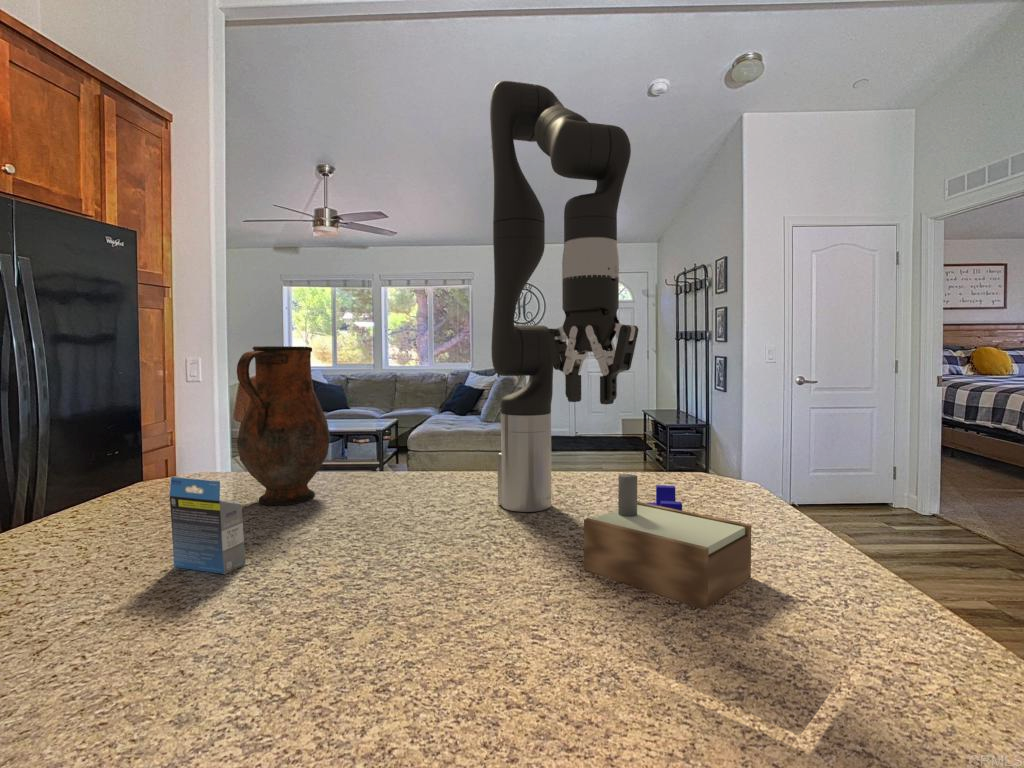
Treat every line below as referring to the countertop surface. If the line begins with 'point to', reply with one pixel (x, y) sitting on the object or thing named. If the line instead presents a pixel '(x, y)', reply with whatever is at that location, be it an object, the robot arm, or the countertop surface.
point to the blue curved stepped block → (666, 497)
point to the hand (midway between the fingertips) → (590, 402)
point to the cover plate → (667, 520)
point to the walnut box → (667, 561)
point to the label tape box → (205, 527)
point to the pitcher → (282, 423)
